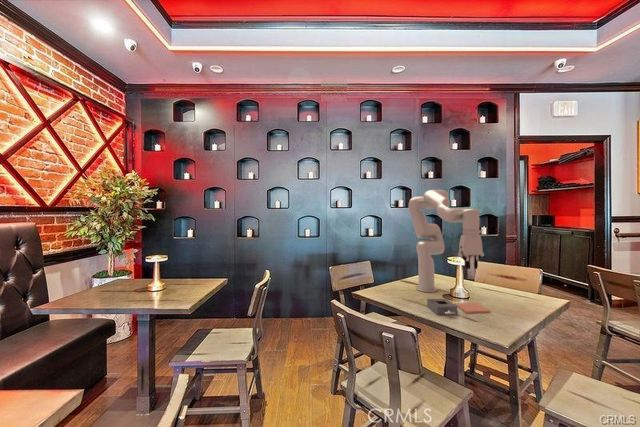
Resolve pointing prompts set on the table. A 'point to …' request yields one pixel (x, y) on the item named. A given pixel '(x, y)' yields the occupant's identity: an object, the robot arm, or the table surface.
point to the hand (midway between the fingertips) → (471, 268)
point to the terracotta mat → (472, 308)
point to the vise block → (442, 306)
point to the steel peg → (471, 267)
